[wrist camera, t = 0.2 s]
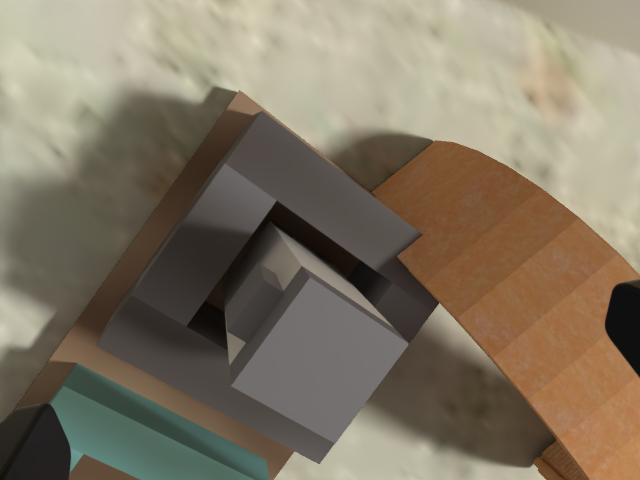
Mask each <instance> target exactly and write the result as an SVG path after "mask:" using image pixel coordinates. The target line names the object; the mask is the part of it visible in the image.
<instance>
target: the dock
mask: <svg viewBox="0 0 640 480" xmlns="http://www.w3.org/2000/svg"><path fill="white" fill-rule="evenodd" d="M375 197H377V196H376V195H374V194H373V193H372V192H370V191H369V190H368V189H367V188H365V187H364V186H363V185H361V184H360V183H359V182H357V181H356V180H355V179H354V178H352V177H351V176H350V175H348V174H347V173H346V172H345V171H343V170H342V169H341V168H339V167H338V166H337V165H336V164H334V163H333V162H332V161H330V160H329V159H328V158H327V157H325V156H324V155H323V154H321V153H320V152H319V151H318V150H316V149H315V148H314V147H312V146H311V145H310V144H308V143H307V142H306V141H305V140H303V139H302V138H301V137H299V136H298V135H297V134H296V133H294V132H293V131H292V130H290V129H289V128H288V127H287V126H285V125H284V124H283V123H281V122H280V121H279V120H278V119H276V118H275V117H274V116H272V115H271V114H270V113H268V112H267V111H266V110H265V109H263V108H262V107H261V106H259V105H258V104H257V103H256V102H254V101H253V100H252V99H250V98H249V97H248V96H247V95H245V94H244V93H243V92H241V91H240V90H239V92H238V93H237V95H236V96H235V97H234V99H233V100H232V102H231V103H230V105H229V106H228V107H227V109H226V110H225V112H224V113H223V114H222V116H221V117H220V119H219V120H218V122H217V123H216V124H215V126H214V127H213V129H212V130H211V131H210V133H209V134H208V136H207V137H206V139H205V140H204V141H203V143H202V144H201V146H200V147H199V148H198V150H197V151H196V153H195V154H194V156H193V157H192V158H191V160H190V161H189V163H188V164H187V165H186V167H185V168H184V170H183V171H182V173H181V174H180V175H179V177H178V178H177V180H176V181H175V182H174V184H173V185H172V187H171V188H170V190H169V191H168V192H167V194H166V195H165V197H164V198H163V199H162V201H161V202H160V204H159V205H158V207H157V208H156V209H155V211H154V212H153V214H152V215H151V216H150V218H149V219H148V221H147V222H146V224H145V225H144V226H143V228H142V229H141V231H140V232H139V233H138V235H137V236H136V238H135V239H134V241H133V242H132V243H131V245H130V246H129V248H128V249H127V250H126V252H125V253H124V255H123V256H122V258H121V259H120V260H119V262H118V263H117V265H116V266H115V267H114V269H113V270H112V272H111V273H110V275H109V276H108V277H107V279H106V280H105V282H104V283H103V284H102V286H101V287H100V289H99V290H98V292H97V293H96V294H95V296H94V297H93V299H92V300H91V301H90V303H89V304H88V306H87V307H86V309H85V310H84V311H83V313H82V314H81V316H80V317H79V318H78V320H77V321H76V323H75V324H74V326H73V327H72V328H71V330H70V331H69V333H68V334H67V335H66V337H65V338H64V340H63V341H62V343H61V344H60V345H59V347H58V348H57V350H56V351H55V352H54V354H53V355H52V357H51V358H50V360H49V361H48V362H47V364H46V365H45V367H44V368H43V369H42V371H41V372H40V374H39V375H38V377H37V378H36V379H35V381H34V382H33V384H32V385H31V386H30V388H29V389H28V391H27V392H26V394H25V395H24V396H23V398H22V399H21V401H20V402H19V403H18V405H17V406H16V408H15V409H14V411H15V410H16V409H19V408H22V407H26V406H31V405H36V404H41V403H48V404H50V405H51V406H52V407H53V408H54V410H55V412H56V414H57V416H58V419H59V421H60V423H61V425H62V428H63V430H64V432H65V434H66V437H67V439H68V441H69V444H70V449H71V465H70V474H69V480H274V478H275V477H276V476H277V474H278V473H279V472H280V470H281V469H282V468H283V466H284V465H285V463H286V462H287V461H288V459H289V458H290V457H291V455H292V454H293V453H294V451H295V452H297V453H299V454H301V455H303V456H305V457H307V458H308V459H310V460H312V461H314V462H316V463H318V464H320V463H321V461H322V460H323V459H324V457H325V456H326V454H327V453H328V452H329V450H330V449H331V448H332V446H333V445H334V444H335V443H333V442H331V441H329V440H328V439H326V438H324V437H322V436H320V435H319V434H317V433H315V432H313V431H311V430H309V429H308V428H306V427H304V426H302V425H300V424H299V423H297V422H295V421H293V420H291V419H290V418H288V417H286V416H284V415H282V414H280V413H279V412H277V411H275V410H273V409H271V408H270V407H268V406H266V405H264V404H262V403H261V402H259V401H257V400H255V399H253V398H252V397H250V396H248V395H246V394H244V393H242V392H241V391H239V390H237V389H235V388H233V387H232V386H231V380H230V368H229V356H228V343H227V331H226V319H225V307H224V294H223V285H224V283H225V282H226V281H227V279H228V278H229V276H230V275H231V274H232V272H233V271H234V269H235V268H236V267H237V265H238V264H239V263H240V261H241V260H242V258H243V257H244V256H245V254H246V253H247V251H248V250H249V249H250V247H251V246H252V244H253V243H254V242H255V240H256V239H257V237H258V236H259V235H260V233H261V232H262V231H263V229H264V228H265V226H266V225H267V224H268V222H269V221H272V222H273V223H275V224H276V225H278V226H279V227H281V228H282V229H283V230H285V231H286V232H288V233H289V234H291V235H292V236H293V237H295V238H296V239H298V240H299V241H301V242H302V243H304V244H305V245H306V246H308V247H309V248H311V249H312V250H314V251H315V252H317V253H318V254H319V255H321V256H322V257H324V258H325V259H327V260H328V261H329V262H331V263H332V264H333V265H334V266H335V267H336V268H337V269H338V270H339V271H340V272H341V273H342V274H343V275H344V276H345V277H346V278H347V279H348V280H349V281H350V282H351V283H352V284H353V285H354V287H355V288H356V289H357V290H358V291H359V292H360V293H361V294H362V295H363V296H364V297H365V298H366V299H367V300H368V301H369V302H370V303H371V304H372V305H373V306H374V308H375V309H376V310H377V311H378V312H379V313H380V314H381V315H382V316H383V317H384V318H385V319H386V320H387V321H388V322H389V323H390V324H391V325H392V326H393V327H394V329H395V330H396V331H397V332H398V333H399V334H400V335H401V336H402V337H403V338H404V339H405V340H406V341H407V342H408V343H410V342H411V340H412V339H413V338H414V336H415V335H416V334H417V332H418V331H419V329H420V328H421V327H422V325H423V324H424V323H425V321H426V320H427V319H428V317H429V316H430V315H431V313H432V312H433V311H434V309H435V308H436V307H437V305H438V304H439V301H438V300H437V299H436V298H435V297H434V296H433V295H432V294H431V293H430V292H429V291H428V290H427V289H426V288H425V287H424V286H423V285H422V284H421V283H420V282H419V281H418V280H417V279H416V278H415V277H414V276H413V275H412V274H411V273H410V271H409V269H408V268H407V267H406V266H405V265H404V264H403V263H402V262H401V261H400V260H399V258H398V257H397V256H398V255H399V254H400V253H401V252H403V251H404V250H405V249H406V248H407V247H409V246H410V245H411V244H412V243H414V242H415V241H416V240H417V239H419V238H420V237H421V236H422V235H423V234H421V233H420V232H419V231H417V230H416V229H415V228H414V227H412V226H411V225H410V224H408V223H407V222H406V221H404V220H403V219H402V218H401V217H399V216H398V215H397V214H395V213H394V212H393V211H392V210H390V209H389V208H388V207H386V206H385V205H384V204H382V203H381V202H380V201H379V200H377V199H376V198H375Z"/></svg>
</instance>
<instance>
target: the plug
mask: <svg viewBox="0 0 640 480" xmlns="http://www.w3.org/2000/svg"><path fill="white" fill-rule="evenodd" d="M223 294H224V307H225V319H226V331H227V343H228V356H229V368H230V380H231V386H232V387H233V388H235V389H237V390H239V391H241V392H242V393H244V394H246V395H248V396H250V397H252V398H253V399H255V400H257V401H259V402H261V403H262V404H264V405H266V406H268V407H270V408H271V409H273V410H275V411H277V412H279V413H280V414H282V415H284V416H286V417H288V418H290V419H291V420H293V421H295V422H297V423H299V424H300V425H302V426H304V427H306V428H308V429H309V430H311V431H313V432H315V433H317V434H319V435H320V436H322V437H324V438H326V439H328V440H329V441H331V442H333V443H336V442H337V440H338V439H339V438H340V436H341V435H342V434H343V432H344V431H345V430H346V428H347V427H348V426H349V424H350V423H351V422H352V420H353V419H354V418H355V416H356V415H357V413H358V412H359V411H360V409H361V408H362V407H363V405H364V404H365V403H366V401H367V400H368V399H369V397H370V396H371V395H372V393H373V392H374V391H375V389H376V388H377V387H378V385H379V384H380V383H381V381H382V380H383V379H384V377H385V376H386V375H387V373H388V372H389V370H390V369H391V368H392V366H393V365H394V364H395V362H396V361H397V360H398V358H399V357H400V356H401V354H402V353H403V352H404V350H405V349H406V348H407V346H408V345H409V343H408V342H407V341H406V340H405V339H404V338H403V337H402V336H401V335H400V334H399V333H398V332H397V331H396V330H395V329H394V327H393V326H392V325H391V324H390V323H389V322H388V321H387V320H386V319H385V318H384V317H383V316H382V315H381V314H380V313H379V312H378V311H377V310H376V309H375V308H374V306H373V305H372V304H371V303H370V302H369V301H368V300H367V299H366V298H365V297H364V296H363V295H362V294H361V293H360V292H359V291H358V290H357V289H356V288H355V287H354V285H353V284H352V283H351V282H350V281H349V280H348V279H347V278H346V277H345V276H344V275H343V274H342V273H341V272H340V271H339V270H338V269H337V268H336V267H335V266H334V265H333V264H332V263H331V262H329V261H328V260H327V259H325V258H324V257H322V256H321V255H319V254H318V253H317V252H315V251H314V250H312V249H311V248H309V247H308V246H306V245H305V244H304V243H302V242H301V241H299V240H298V239H296V238H295V237H293V236H292V235H291V234H289V233H288V232H286V231H285V230H283V229H282V228H281V227H279V226H278V225H276V224H275V223H273V222H272V221H269V222H268V224H267V225H266V226H265V228H264V229H263V231H262V232H261V233H260V235H259V236H258V237H257V239H256V240H255V242H254V243H253V244H252V246H251V247H250V249H249V250H248V251H247V253H246V254H245V256H244V257H243V258H242V260H241V261H240V263H239V264H238V265H237V267H236V268H235V269H234V271H233V272H232V274H231V275H230V276H229V278H228V279H227V281H226V282H225V283H224V285H223Z"/></svg>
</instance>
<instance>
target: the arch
mask: <svg viewBox="0 0 640 480" xmlns="http://www.w3.org/2000/svg"><path fill="white" fill-rule="evenodd" d="M372 193H373V194H374V195H376V196H377V197H375V198H376V199H377V200H379V201H380V202H381V203H382V204H384V205H385V206H386V207H388V208H389V209H390V210H392V211H393V212H394V213H395V214H397V215H398V216H399V217H401V218H402V219H403V220H404V221H406V222H407V223H408V224H410V225H411V226H412V227H414V228H415V229H416V230H417V231H419V232H420V233H421V234H423V235H422V236H421V237H420V238H419V239H417V240H416V241H415V242H414V243H412V244H411V245H410V246H409V247H407V248H406V249H405V250H404V251H403V252H401V253H400V254H399V255H398V256H397V257H398V258H399V260H400V261H401V262H402V263H403V264H404V265H405V266H406V267H407V268H408V269H409V271H410V273H411V274H412V275H413V276H414V277H415V278H416V279H417V280H418V281H419V282H420V283H421V284H422V285H423V286H424V287H425V288H426V289H427V290H428V291H429V292H430V293H431V294H432V295H433V296H434V297H435V298H436V299H437V300H438V301H439V303H440V304H441V305H442V306H443V307H444V308H445V309H446V310H447V311H448V312H449V313H450V314H451V315H452V316H453V318H454V319H455V320H456V321H457V322H458V323H459V324H460V325H461V326H462V327H463V329H464V330H465V331H466V332H467V333H468V334H469V335H470V336H471V337H472V339H473V340H474V341H475V342H476V343H477V344H478V345H479V346H480V348H481V349H482V350H483V351H484V352H485V353H486V354H487V355H488V357H489V358H490V359H491V360H492V361H493V362H494V364H495V365H496V366H497V367H498V368H499V370H500V371H501V372H502V373H503V374H504V375H505V377H506V378H507V379H508V380H509V381H510V382H511V384H512V385H513V386H514V387H515V388H516V390H517V391H518V392H519V393H520V394H521V396H522V397H523V398H524V399H525V400H526V402H527V403H528V404H529V405H530V407H531V408H532V409H533V410H534V412H535V413H536V414H537V415H538V417H539V418H540V419H541V420H542V422H543V423H544V424H545V425H546V427H547V428H548V429H549V430H550V432H551V433H552V434H553V436H554V437H555V438H556V441H555V442H554V443H552V444H551V445H550V446H549V447H548V448H547V449H545V450H544V451H543V452H542V458H541V457H537V458H536V459H535V460H534V465H535V466H536V467H537V468H538V471H539V473H540V474H541V475H542V476H543V477H544V478H545V479H546V480H640V378H639V377H638V375H637V374H636V373H635V371H634V370H633V369H632V367H631V366H630V365H629V363H628V362H627V361H626V359H625V358H624V357H623V356H622V354H621V353H620V352H619V350H618V349H617V348H616V346H615V345H614V344H613V342H612V341H611V340H610V338H609V337H608V335H607V333H606V330H605V318H606V314H607V310H608V305H609V301H610V297H611V293H612V290H613V288H614V287H615V286H616V285H617V284H619V283H621V282H626V281H631V280H636V279H640V275H639V274H638V273H637V272H636V271H635V270H634V269H633V268H632V267H631V266H630V265H629V263H628V262H627V261H626V260H625V259H624V258H623V257H622V256H621V255H620V254H619V253H618V252H617V251H616V250H615V249H613V248H612V247H611V246H610V245H609V244H608V243H607V242H606V241H605V240H604V239H602V238H601V237H600V236H599V235H598V234H597V233H596V232H595V231H594V230H592V229H591V228H590V227H589V226H588V225H587V224H586V223H585V222H584V221H582V220H581V219H580V218H579V217H578V216H577V215H575V214H574V213H573V212H571V211H570V210H569V209H568V208H566V207H565V206H564V205H562V204H561V203H560V202H558V201H557V200H556V199H555V198H553V197H552V196H551V195H549V194H548V193H547V192H546V191H544V190H543V189H542V188H540V187H539V186H537V185H536V184H534V183H533V182H531V181H529V180H528V179H526V178H525V177H523V176H522V175H520V174H519V173H517V172H516V171H514V170H513V169H511V168H509V167H508V166H506V165H504V164H502V163H500V162H498V161H497V160H495V159H493V158H491V157H489V156H487V155H485V154H483V153H481V152H479V151H477V150H474V149H471V148H468V147H465V146H463V145H460V144H457V143H454V142H446V141H435V142H433V143H432V144H431V145H430V146H428V147H427V148H426V149H425V150H423V151H422V152H421V153H420V154H418V155H417V156H416V157H415V158H413V159H412V160H411V161H410V162H408V163H407V164H406V165H405V166H403V167H402V168H401V169H400V170H398V171H397V172H396V173H395V174H393V175H392V176H391V177H390V178H388V179H387V180H386V181H385V182H383V183H382V184H381V185H380V186H378V187H377V188H376V189H375V190H373V191H372Z"/></svg>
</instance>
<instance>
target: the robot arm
mask: <svg viewBox="0 0 640 480" xmlns="http://www.w3.org/2000/svg"><path fill="white" fill-rule="evenodd" d="M605 330H606V333H607V335H608V337H609V338H610V340H611V341H612V342H613V344H614V345H615V346H616V348H617V349H618V350H619V352H620V353H621V354H622V356H623V357H624V358H625V359H626V361H627V362H628V363H629V365H630V366H631V367H632V369H633V370H634V371H635V373H636V374H637V375H638V377H639V378H640V279H636V280H631V281H626V282H621V283H619V284H617V285H616V286H615V287H614V288H613V290H612V293H611V297H610V301H609V305H608V310H607V314H606V318H605ZM70 465H71V449H70V444H69V441H68V439H67V437H66V434H65V432H64V430H63V428H62V425H61V423H60V421H59V419H58V416H57V414H56V412H55V410H54V408H53V407H52V406H51V405H50V404H48V403H41V404H36V405H31V406H26V407H22V408H19V409H16V410H15V411H13V412H12V413H11V414H10V415H9V416H8V417H7V418H5V419H4V420H3V421H2V422H1V423H0V480H69V474H70Z"/></svg>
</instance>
